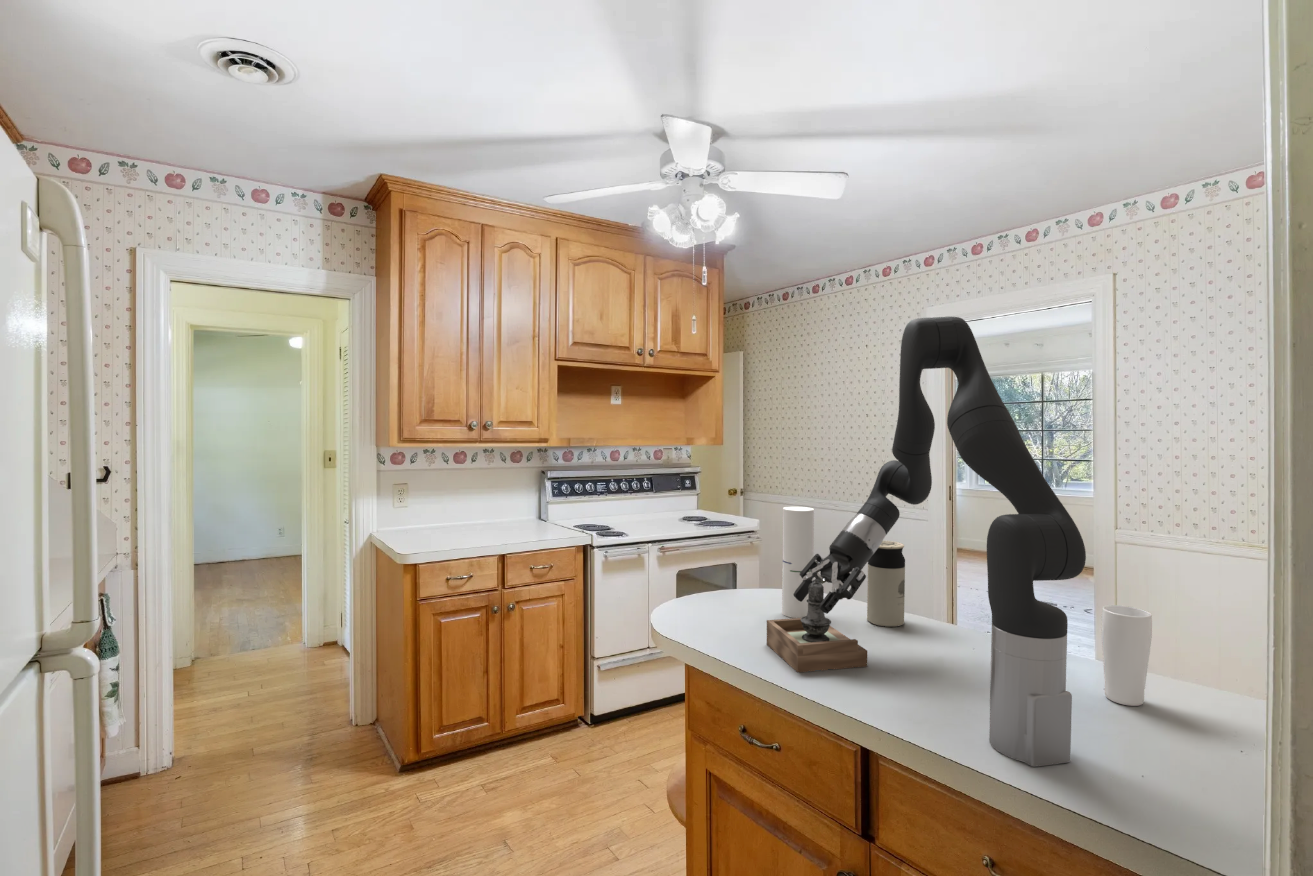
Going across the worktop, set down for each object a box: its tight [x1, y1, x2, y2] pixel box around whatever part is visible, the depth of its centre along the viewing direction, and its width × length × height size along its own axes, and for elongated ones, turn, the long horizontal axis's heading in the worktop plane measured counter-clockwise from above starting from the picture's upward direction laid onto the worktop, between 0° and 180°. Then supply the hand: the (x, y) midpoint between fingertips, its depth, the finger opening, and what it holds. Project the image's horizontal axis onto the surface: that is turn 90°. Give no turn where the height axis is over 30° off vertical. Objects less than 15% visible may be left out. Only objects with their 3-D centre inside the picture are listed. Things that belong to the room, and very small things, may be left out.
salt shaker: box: [800, 578, 832, 642], centre depth 128 cm, size 6×6×12 cm
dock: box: [766, 617, 868, 673], centre depth 128 cm, size 15×14×5 cm
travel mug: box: [866, 540, 906, 628], centre depth 148 cm, size 8×8×18 cm
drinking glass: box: [1100, 604, 1153, 707], centre depth 107 cm, size 7×7×15 cm
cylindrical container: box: [781, 506, 815, 618], centre depth 154 cm, size 7×7×25 cm
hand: (809, 604), depth 127 cm, fingers open, 8 cm apart
